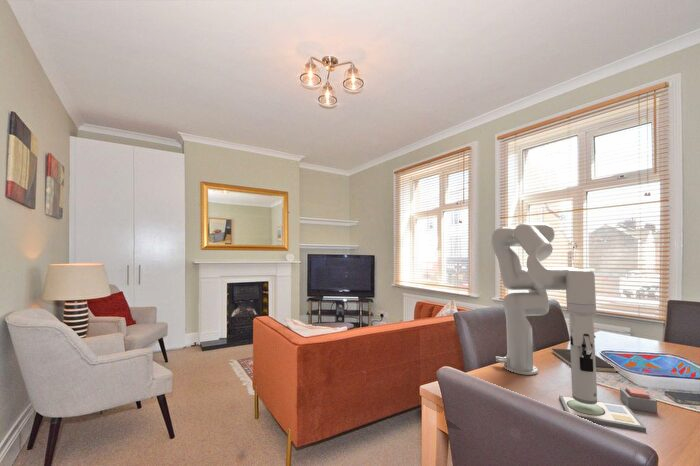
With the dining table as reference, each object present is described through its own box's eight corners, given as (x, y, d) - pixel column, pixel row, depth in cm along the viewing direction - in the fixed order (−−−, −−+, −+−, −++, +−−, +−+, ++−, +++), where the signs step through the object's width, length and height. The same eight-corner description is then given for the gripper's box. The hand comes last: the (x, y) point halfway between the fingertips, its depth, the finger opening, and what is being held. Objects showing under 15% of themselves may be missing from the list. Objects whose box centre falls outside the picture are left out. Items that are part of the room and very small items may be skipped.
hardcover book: (574, 370, 134) (574, 365, 134) (551, 353, 157) (551, 348, 157) (618, 373, 131) (618, 367, 131) (588, 355, 154) (588, 350, 154)
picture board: (568, 418, 96) (567, 413, 96) (559, 398, 109) (559, 394, 109) (646, 431, 88) (645, 427, 88) (626, 408, 101) (626, 404, 101)
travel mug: (603, 405, 96) (600, 337, 97) (578, 403, 98) (575, 336, 99) (591, 396, 102) (589, 332, 103) (568, 394, 104) (566, 331, 105)
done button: (631, 399, 102) (631, 392, 102) (626, 393, 106) (626, 387, 106) (649, 401, 100) (649, 395, 101) (643, 395, 104) (643, 389, 105)
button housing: (628, 408, 101) (627, 396, 102) (620, 398, 108) (619, 388, 108) (657, 412, 99) (656, 401, 99) (647, 402, 105) (646, 391, 105)
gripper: (561, 303, 111) (564, 357, 110) (573, 312, 95) (575, 375, 94) (588, 305, 108) (590, 360, 107) (604, 314, 92) (607, 379, 91)
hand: (583, 366), depth 100 cm, fingers closed on travel mug, 6 cm apart
